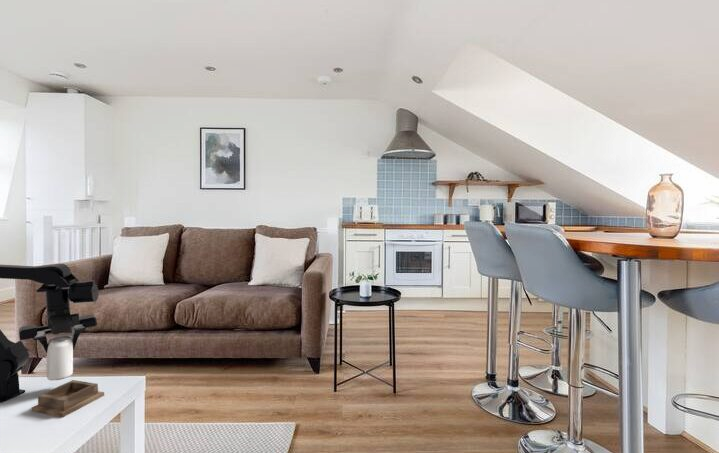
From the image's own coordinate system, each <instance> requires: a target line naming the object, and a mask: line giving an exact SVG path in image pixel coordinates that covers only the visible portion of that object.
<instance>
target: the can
mask: <svg viewBox="0 0 719 453" xmlns="http://www.w3.org/2000/svg"><path fill="white" fill-rule="evenodd" d="M47 343H48V350H47V353H46V379H47V380H49V381H59V380H64V379H67V378H69V377H71V376H72V375H73V373H74V351H73V342H72V336H70V335H61V336H55V337H52V338H49V339H48V341H47Z"/></svg>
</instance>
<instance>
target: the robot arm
mask: <svg viewBox="0 0 719 453" xmlns="http://www.w3.org/2000/svg"><path fill="white" fill-rule="evenodd" d="M0 279H3V280H4V279H6V280H7V279H8V280H28V281H33V282H35V283H39V284H41V286H40V287H38V289H36V290H35V291H36V293H44V294H45V308H46V325H44V326H38V327H37V324H35V323H34V324H29V325H24V326H20V327H19V328H18V337H19V340H18V341H17V342H14V341H12V340H9V338H8V337H7V336H6V334H5V333H4V332H3V331H2V330H1V329H0V403H3V402H5V401H8V400H10V399H12V398H14V397H17V396H19V395H22V394H24V393H26V390H25V389H22V388H21V389H20V378H19V372H20V371H22V369H23V367H24V366H25V365H26V364H27V363H28V361H29V359H30V353H29V351H30V349H29V348H27V347H26V345H25V344H24V342H23V341H25V340H26V341H27V340H30V339H33V340H32V341H38V342H39V343H40V344H41V345H42V347H43V349H44V351H45V352H46V354H47V350H48V338H47V336H46V335H47V334H46V333H47V332H51V334H52V335H58V334H61V333H62V334H63V333H70V332H71V340H72V342H73V352H74V350H75V348H76V344H77V341H78V339H79V337H80V335H81V333H82V332H85V331H86V330H87V328H92V327H93V328H94V327H96V326H98V322H97V317H96V316H95V315H94V314H87V315H81V316H80V315H79V313H72V314H71V305H70V304H71V303H73V304H81V303H95V302H97V301H98V299H99V293H100V292H99V288H98V284H96V280H92V279H91V280H87V281H80V279H78V278H77V277H76V275H74V274H73V273H72V272H71V269H70V267H69V266H68V264H66V263H51V264H44V265H14V264H0Z"/></svg>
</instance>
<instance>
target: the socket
mask: <svg viewBox="0 0 719 453" xmlns="http://www.w3.org/2000/svg"><path fill="white" fill-rule="evenodd" d="M98 384H99V383H94V382H88V381H81V380H76V379H75V380H74V379H71V380H70V381H68V382H66V383H65V382H64V383H63V384H60V385H59V386H56V387H55V388H51V389H49V390H47V391H45V392H43V393H40V394H38V395H37V404H36V405H34V406H32V407H31V412H36V413H41V414H46V415H50V416H51V415H52V416H56V417H60V418H64V417H66V416H68V415H70V414H72V413H73V412H77V411H78V410H80V409H82V408H83V407H85V406H87V405H89V404H91V403H92V402H94V401H97V400H98V399H101V398H102V397H105V392H104V391H100V390H99V387H98V386H99V385H98Z"/></svg>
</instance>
